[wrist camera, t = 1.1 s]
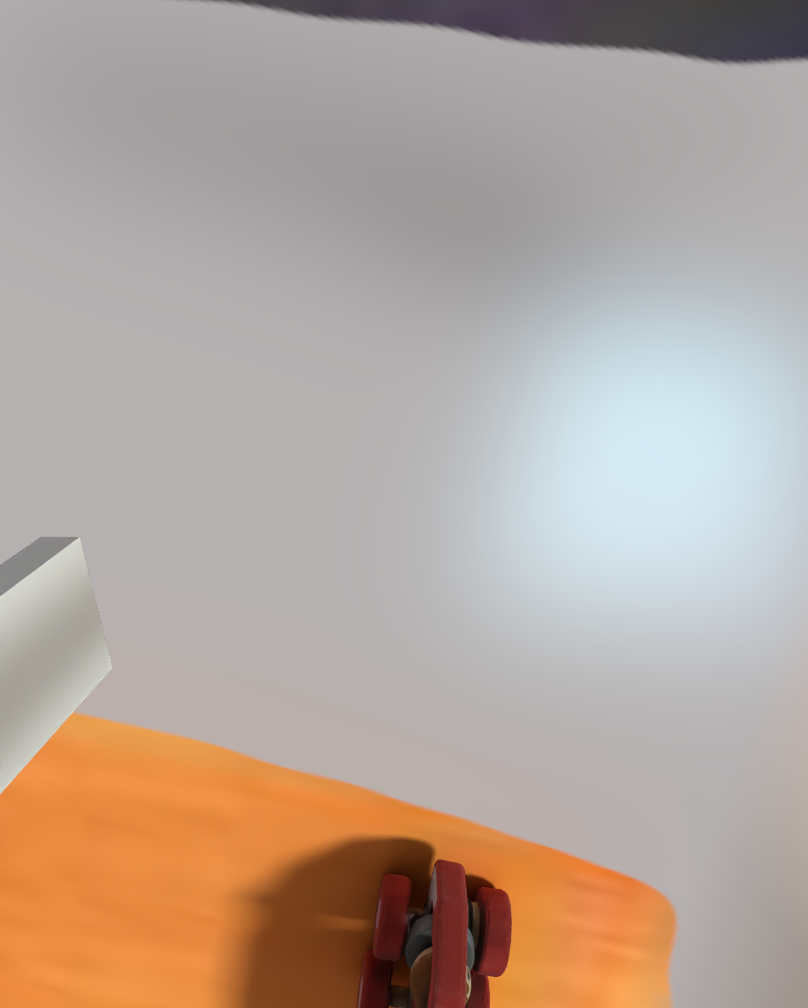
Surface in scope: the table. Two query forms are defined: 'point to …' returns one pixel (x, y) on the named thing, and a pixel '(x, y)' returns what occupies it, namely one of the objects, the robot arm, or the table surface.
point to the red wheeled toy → (436, 943)
